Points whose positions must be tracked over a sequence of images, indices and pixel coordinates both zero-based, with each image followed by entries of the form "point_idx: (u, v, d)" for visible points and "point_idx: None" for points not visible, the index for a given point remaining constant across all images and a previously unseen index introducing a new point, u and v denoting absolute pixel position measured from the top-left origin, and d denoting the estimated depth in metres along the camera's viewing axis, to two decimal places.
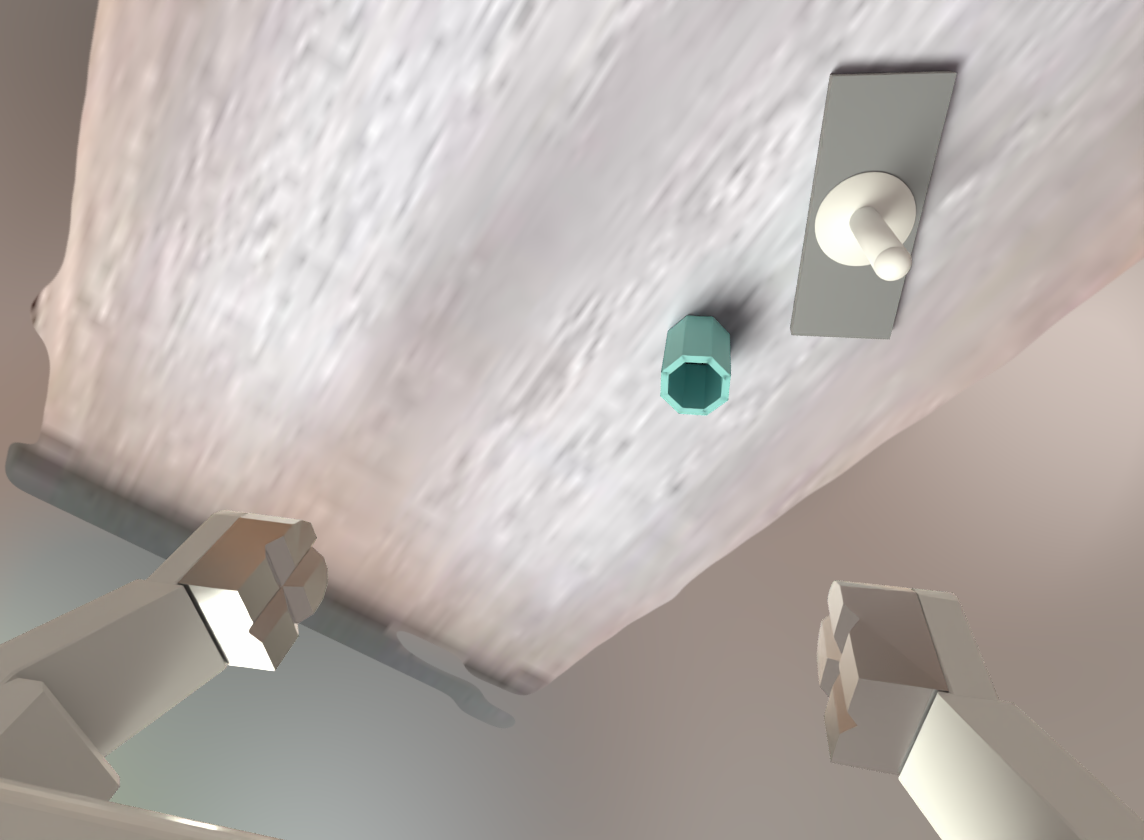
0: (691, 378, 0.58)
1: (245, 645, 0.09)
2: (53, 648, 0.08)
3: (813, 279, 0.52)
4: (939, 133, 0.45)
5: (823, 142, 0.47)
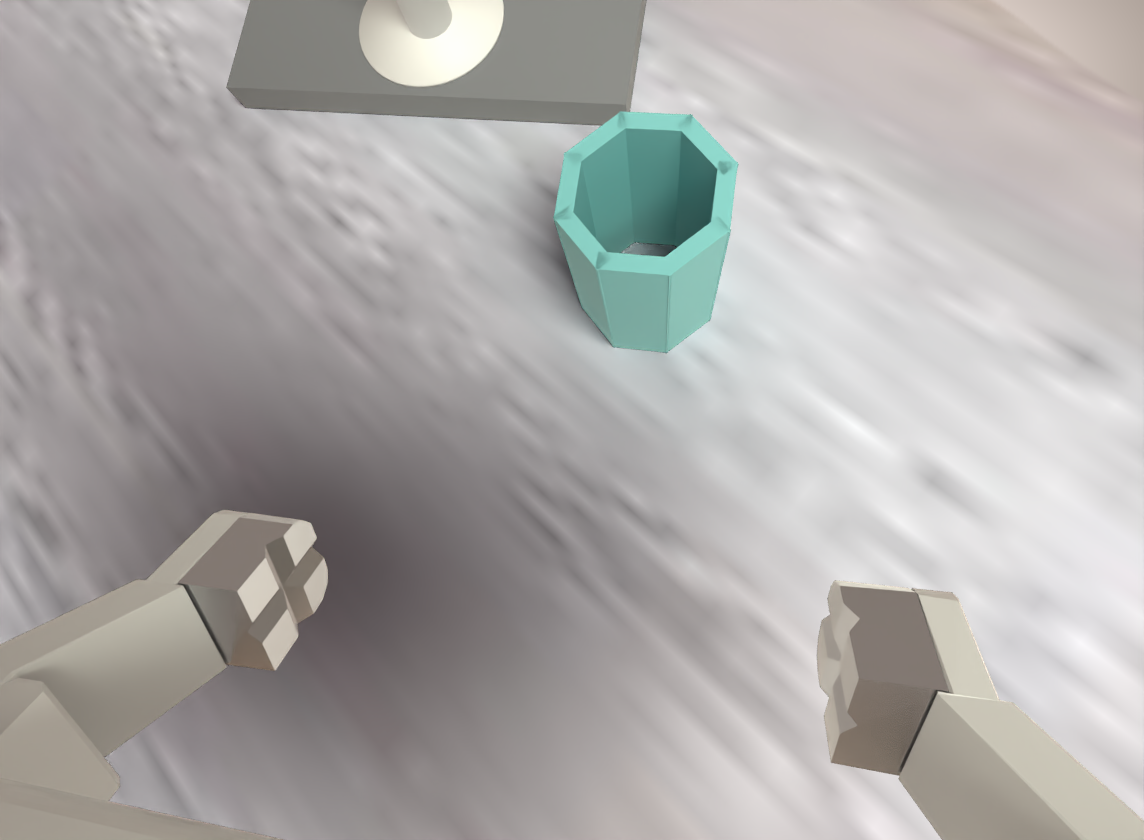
0: None
1: (245, 645, 0.09)
2: (53, 648, 0.08)
3: (519, 80, 0.29)
4: None
5: (306, 89, 0.31)
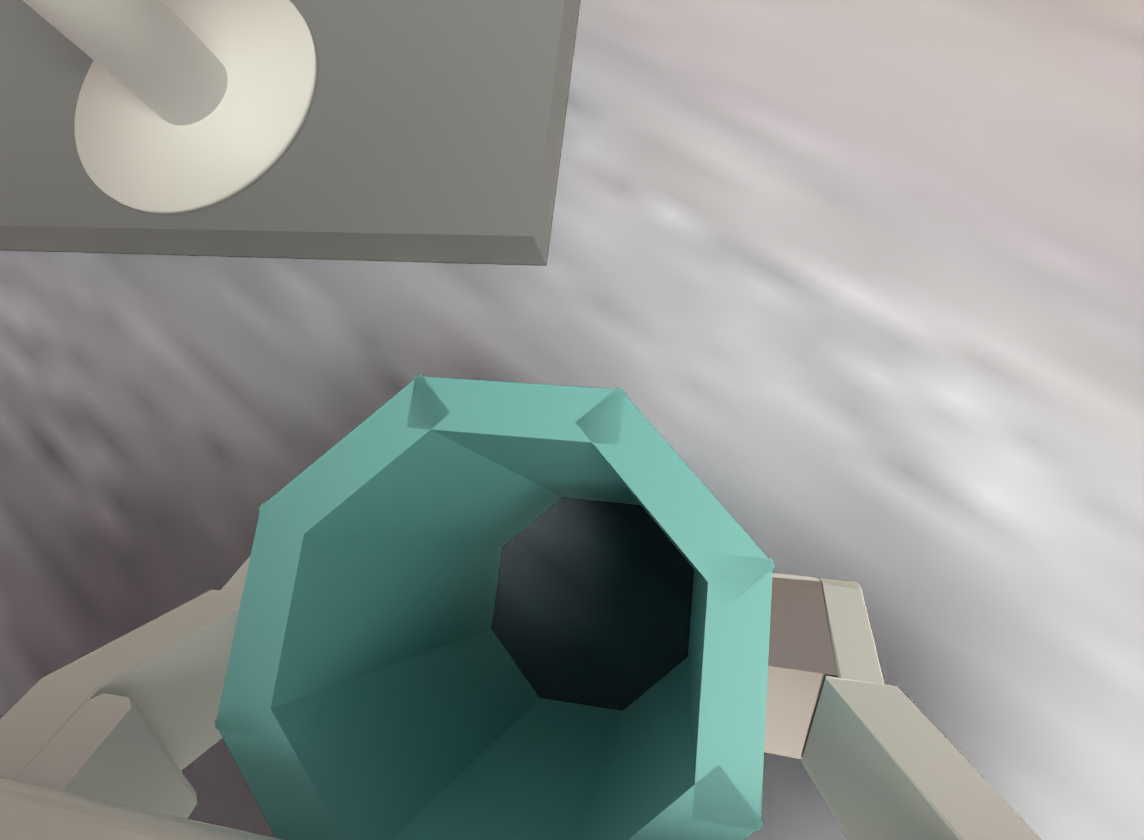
0: (691, 646, 0.11)
1: None
2: (135, 662, 0.08)
3: (339, 194, 0.16)
4: None
5: None
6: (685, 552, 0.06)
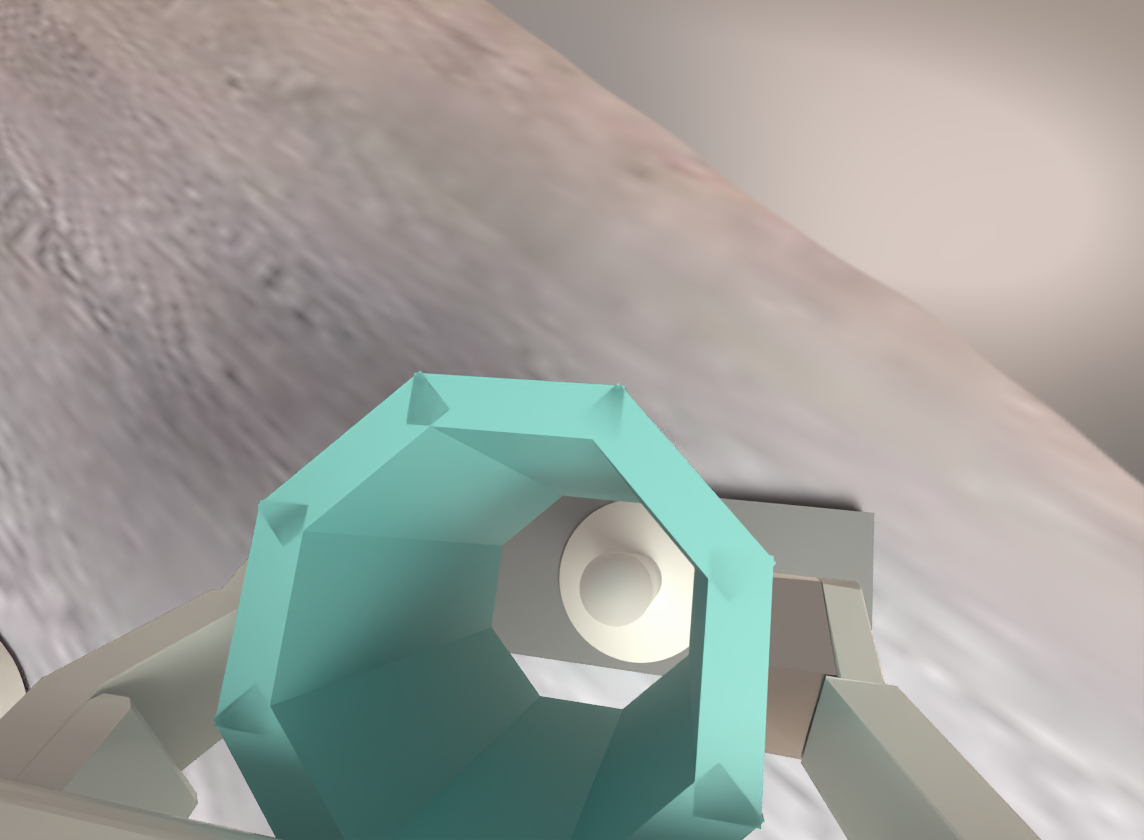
0: (692, 644, 0.11)
1: None
2: (135, 662, 0.08)
3: None
4: None
5: None
6: (685, 549, 0.06)
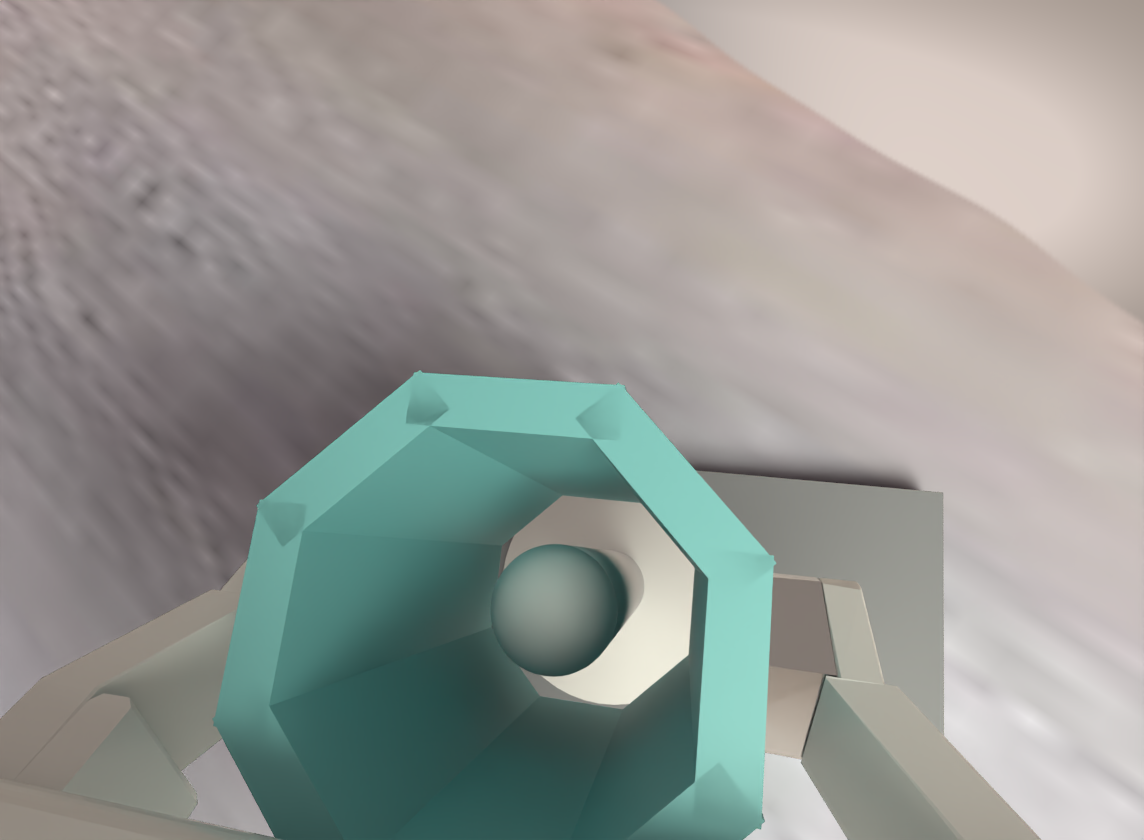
0: None
1: None
2: (135, 662, 0.08)
3: None
4: None
5: None
6: (685, 549, 0.06)
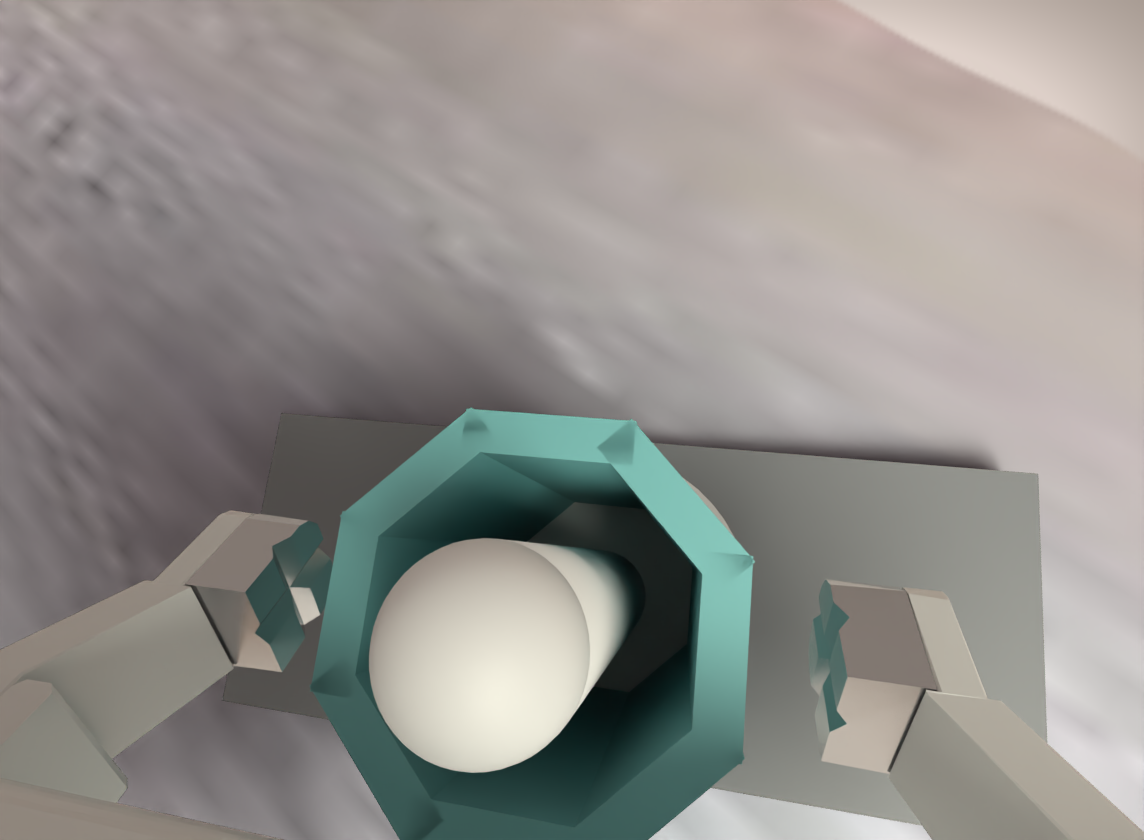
0: (690, 632, 0.13)
1: (252, 646, 0.09)
2: (61, 649, 0.08)
3: (799, 754, 0.15)
4: (399, 428, 0.18)
5: None
6: (684, 551, 0.08)
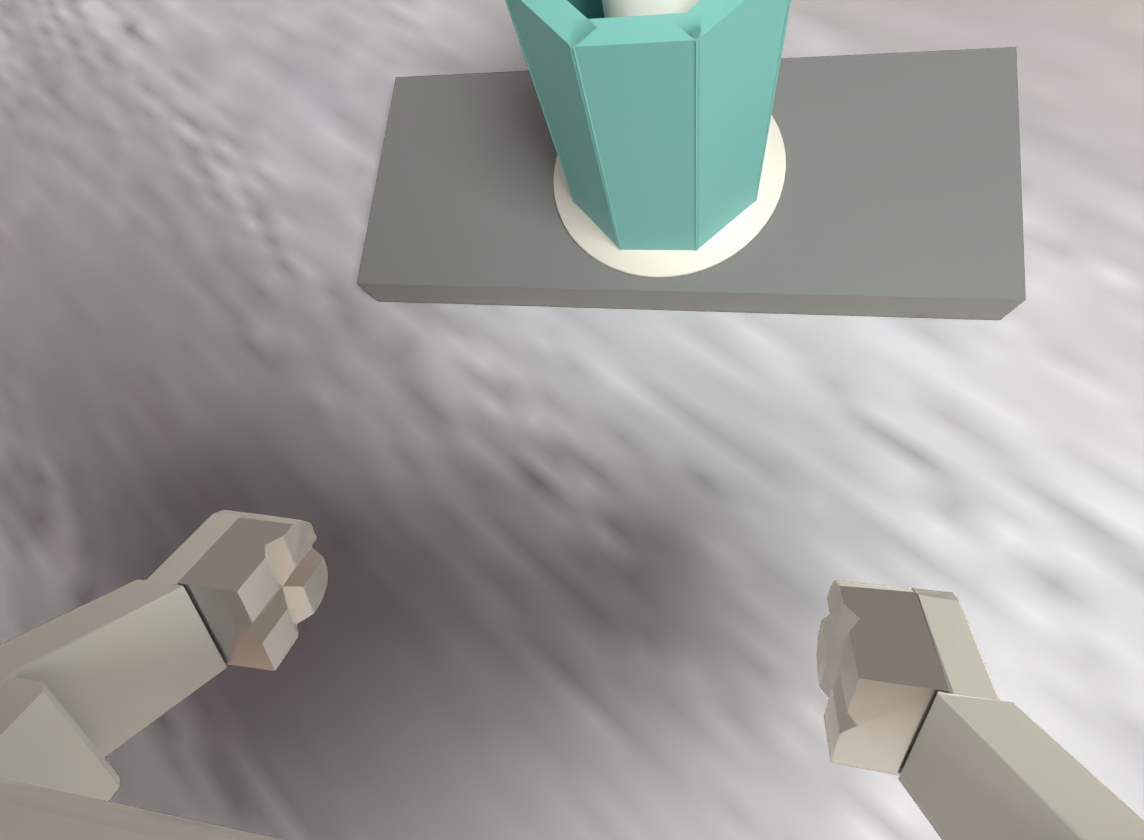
0: None
1: (245, 645, 0.09)
2: (53, 648, 0.08)
3: (827, 261, 0.18)
4: (494, 76, 0.22)
5: (479, 284, 0.20)
6: None
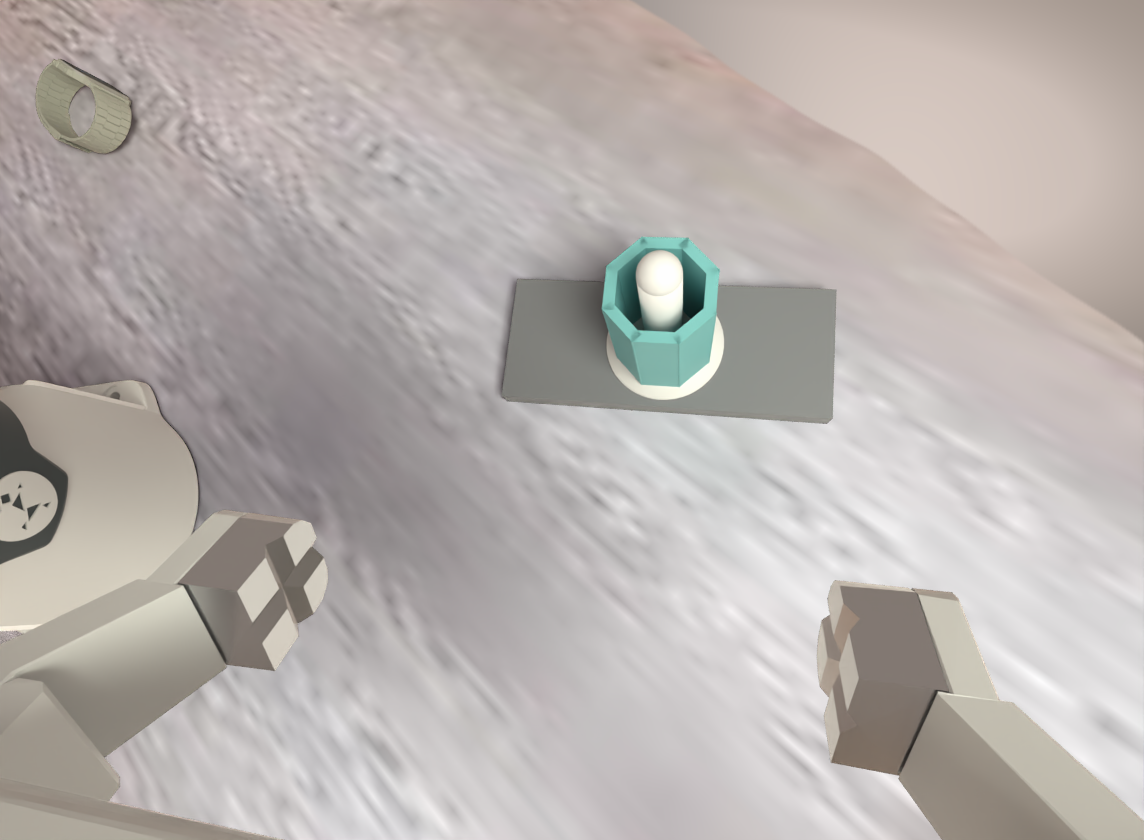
0: None
1: (245, 645, 0.09)
2: (53, 648, 0.08)
3: (742, 395, 0.38)
4: (573, 283, 0.41)
5: (568, 399, 0.40)
6: (701, 268, 0.31)
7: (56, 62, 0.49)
